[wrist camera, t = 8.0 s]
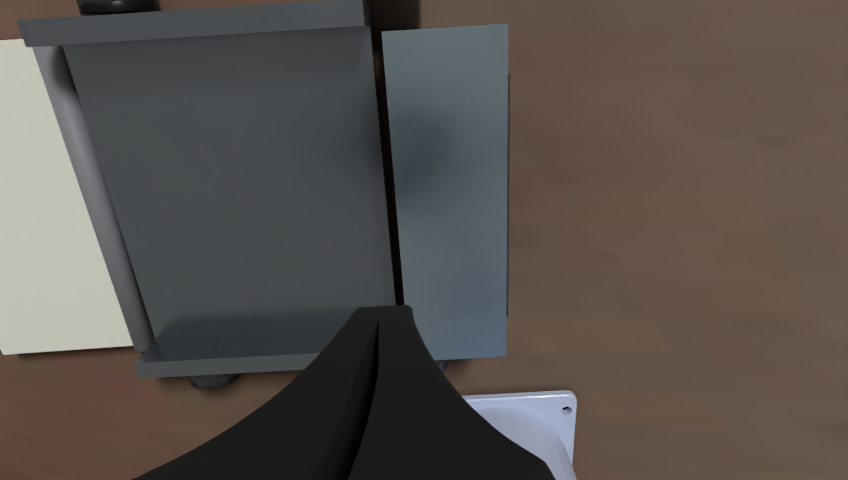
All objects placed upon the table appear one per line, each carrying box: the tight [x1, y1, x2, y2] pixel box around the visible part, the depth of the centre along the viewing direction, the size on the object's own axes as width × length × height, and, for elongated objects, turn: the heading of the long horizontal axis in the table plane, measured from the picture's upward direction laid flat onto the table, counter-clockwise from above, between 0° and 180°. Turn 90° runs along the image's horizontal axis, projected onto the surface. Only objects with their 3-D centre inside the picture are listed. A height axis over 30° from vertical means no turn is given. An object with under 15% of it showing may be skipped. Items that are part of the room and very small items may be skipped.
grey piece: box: [17, 0, 510, 390], centre depth 19 cm, size 16×16×4 cm
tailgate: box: [0, 39, 155, 355], centre depth 21 cm, size 14×1×7 cm
